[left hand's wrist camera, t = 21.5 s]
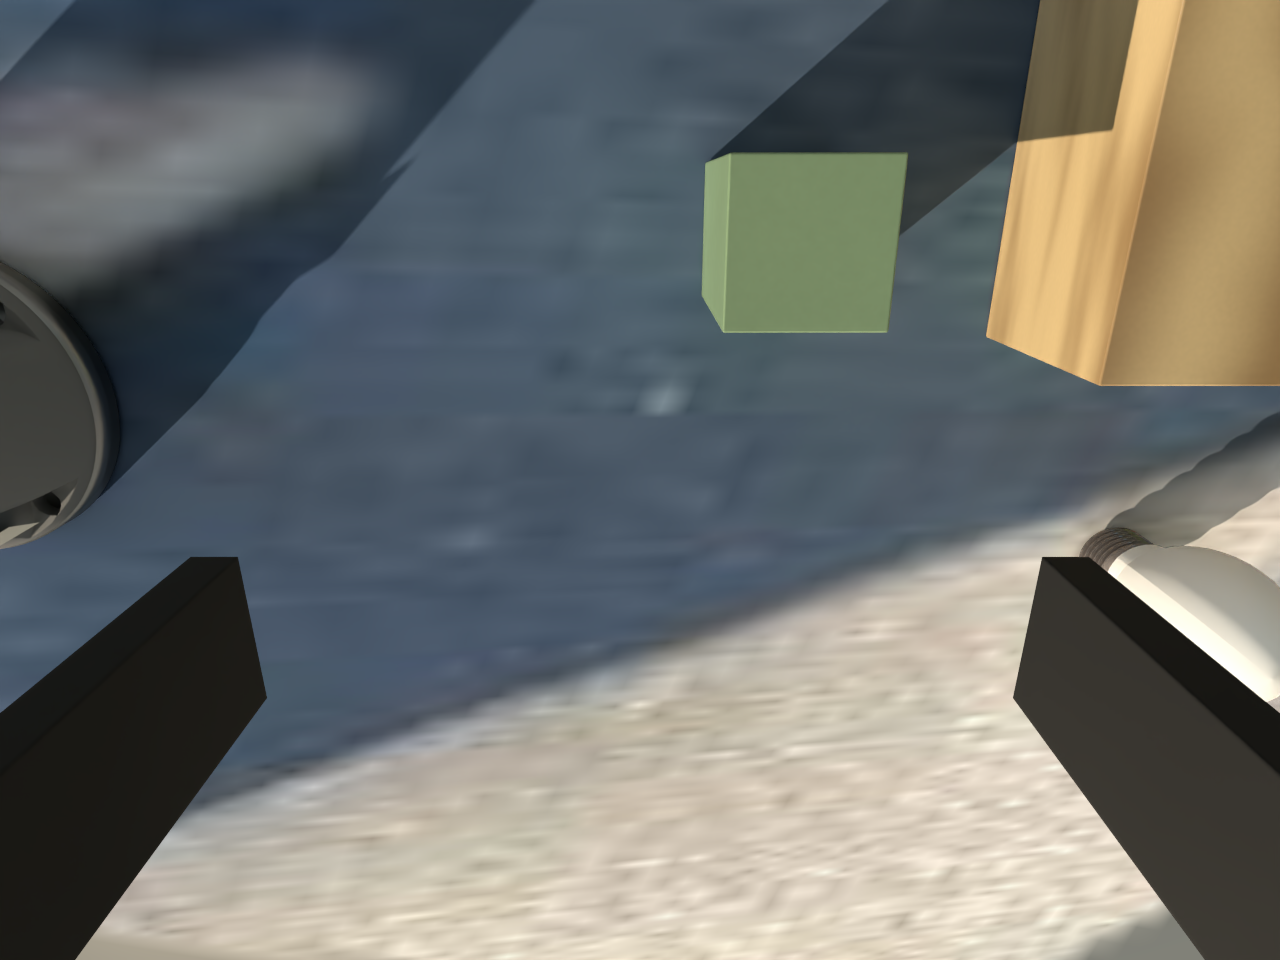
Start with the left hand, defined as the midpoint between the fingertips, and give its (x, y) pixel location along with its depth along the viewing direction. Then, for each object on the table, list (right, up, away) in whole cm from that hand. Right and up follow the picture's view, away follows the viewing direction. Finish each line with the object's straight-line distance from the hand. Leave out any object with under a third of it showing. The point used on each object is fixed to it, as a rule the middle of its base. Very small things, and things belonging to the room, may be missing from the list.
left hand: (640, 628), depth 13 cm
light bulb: (+26, -2, +29) cm, 39 cm away
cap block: (+6, +14, +23) cm, 28 cm away
